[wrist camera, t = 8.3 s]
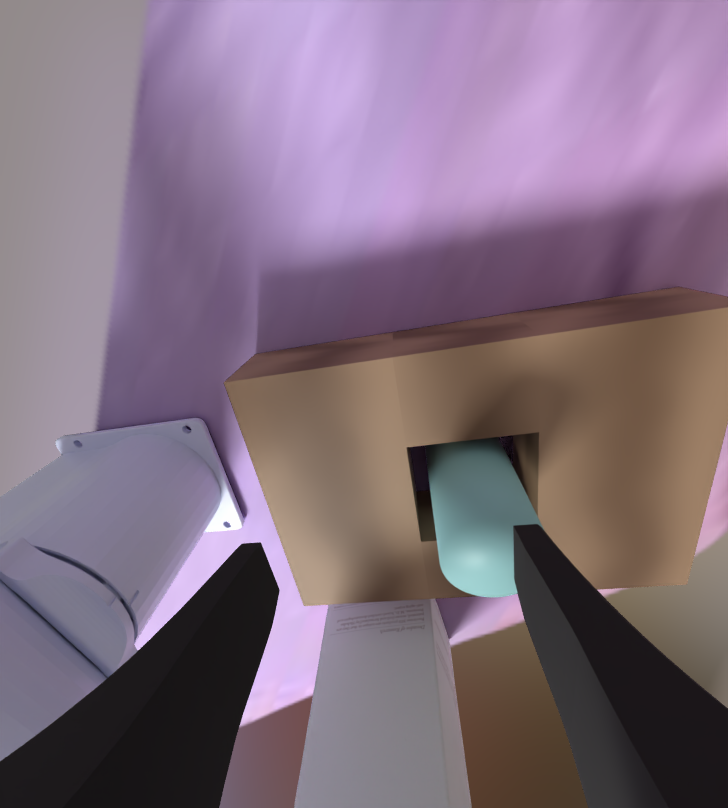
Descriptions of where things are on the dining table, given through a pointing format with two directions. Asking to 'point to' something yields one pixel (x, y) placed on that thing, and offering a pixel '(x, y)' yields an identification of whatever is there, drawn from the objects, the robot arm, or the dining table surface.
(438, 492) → the peg
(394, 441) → the socket block
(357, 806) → the supplement box
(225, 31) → the dining table surface
